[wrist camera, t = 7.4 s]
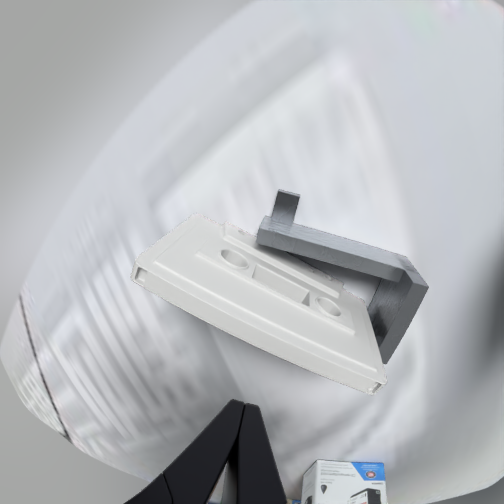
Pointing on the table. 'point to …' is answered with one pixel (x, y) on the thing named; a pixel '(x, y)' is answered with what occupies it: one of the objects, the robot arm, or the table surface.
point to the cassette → (264, 300)
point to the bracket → (356, 258)
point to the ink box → (344, 483)
